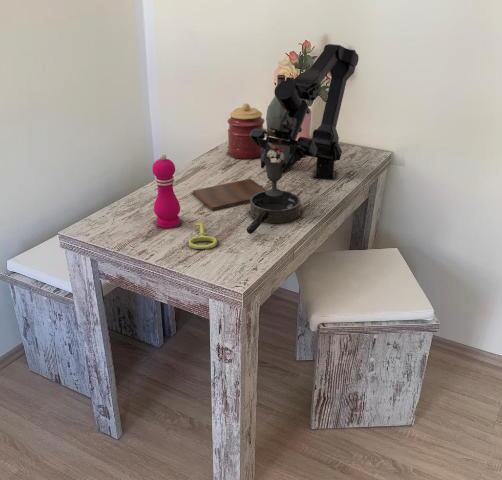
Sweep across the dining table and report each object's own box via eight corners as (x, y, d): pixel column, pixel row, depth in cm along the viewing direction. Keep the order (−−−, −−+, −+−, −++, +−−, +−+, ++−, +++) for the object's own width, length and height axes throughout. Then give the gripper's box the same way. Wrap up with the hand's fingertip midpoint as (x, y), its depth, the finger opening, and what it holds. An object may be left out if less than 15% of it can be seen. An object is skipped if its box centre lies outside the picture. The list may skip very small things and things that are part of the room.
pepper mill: (176, 230, 157) (171, 159, 146) (151, 227, 158) (144, 157, 147) (184, 218, 163) (179, 150, 152) (159, 216, 164) (153, 148, 153)
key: (203, 227, 158) (202, 219, 157) (219, 246, 148) (219, 239, 147) (178, 232, 156) (177, 224, 155) (193, 252, 146) (192, 245, 145)
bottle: (271, 160, 201) (273, 71, 186) (296, 164, 198) (300, 73, 182) (260, 169, 194) (262, 77, 178) (286, 173, 191) (289, 80, 175)
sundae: (288, 189, 164) (290, 138, 156) (282, 199, 159) (283, 146, 151) (266, 187, 166) (267, 136, 158) (259, 196, 161) (259, 144, 153)
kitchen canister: (237, 145, 215) (237, 97, 206) (269, 150, 211) (270, 101, 201) (221, 156, 205) (220, 106, 196) (255, 161, 201) (255, 110, 191)
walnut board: (250, 181, 185) (250, 178, 185) (272, 197, 175) (272, 194, 174) (192, 193, 178) (192, 190, 177) (212, 210, 167) (212, 207, 167)
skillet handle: (262, 215, 159) (262, 209, 158) (269, 217, 159) (269, 210, 158) (245, 234, 150) (245, 227, 149) (252, 235, 149) (252, 228, 148)
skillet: (256, 200, 173) (256, 188, 171) (303, 205, 170) (303, 192, 168) (245, 221, 161) (245, 208, 159) (295, 226, 158) (296, 213, 156)
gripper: (253, 98, 157) (231, 150, 155) (315, 108, 148) (293, 163, 146) (267, 120, 167) (247, 168, 165) (326, 130, 158) (305, 181, 156)
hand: (272, 170), depth 158 cm, fingers closed on sundae, 6 cm apart
